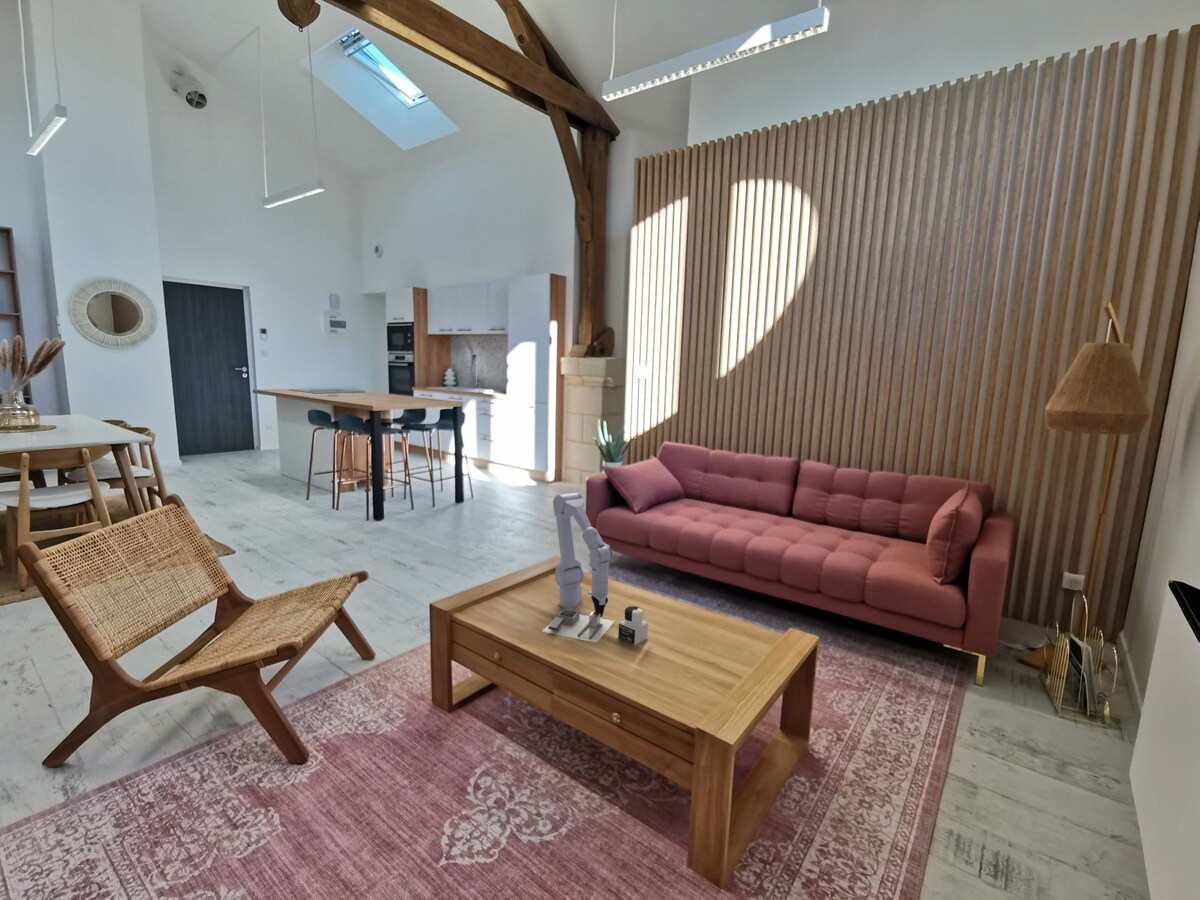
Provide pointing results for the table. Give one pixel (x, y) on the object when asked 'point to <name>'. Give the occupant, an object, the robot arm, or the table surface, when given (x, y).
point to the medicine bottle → (633, 626)
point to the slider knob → (594, 619)
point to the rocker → (556, 623)
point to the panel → (580, 627)
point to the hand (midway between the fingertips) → (599, 616)
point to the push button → (568, 611)
